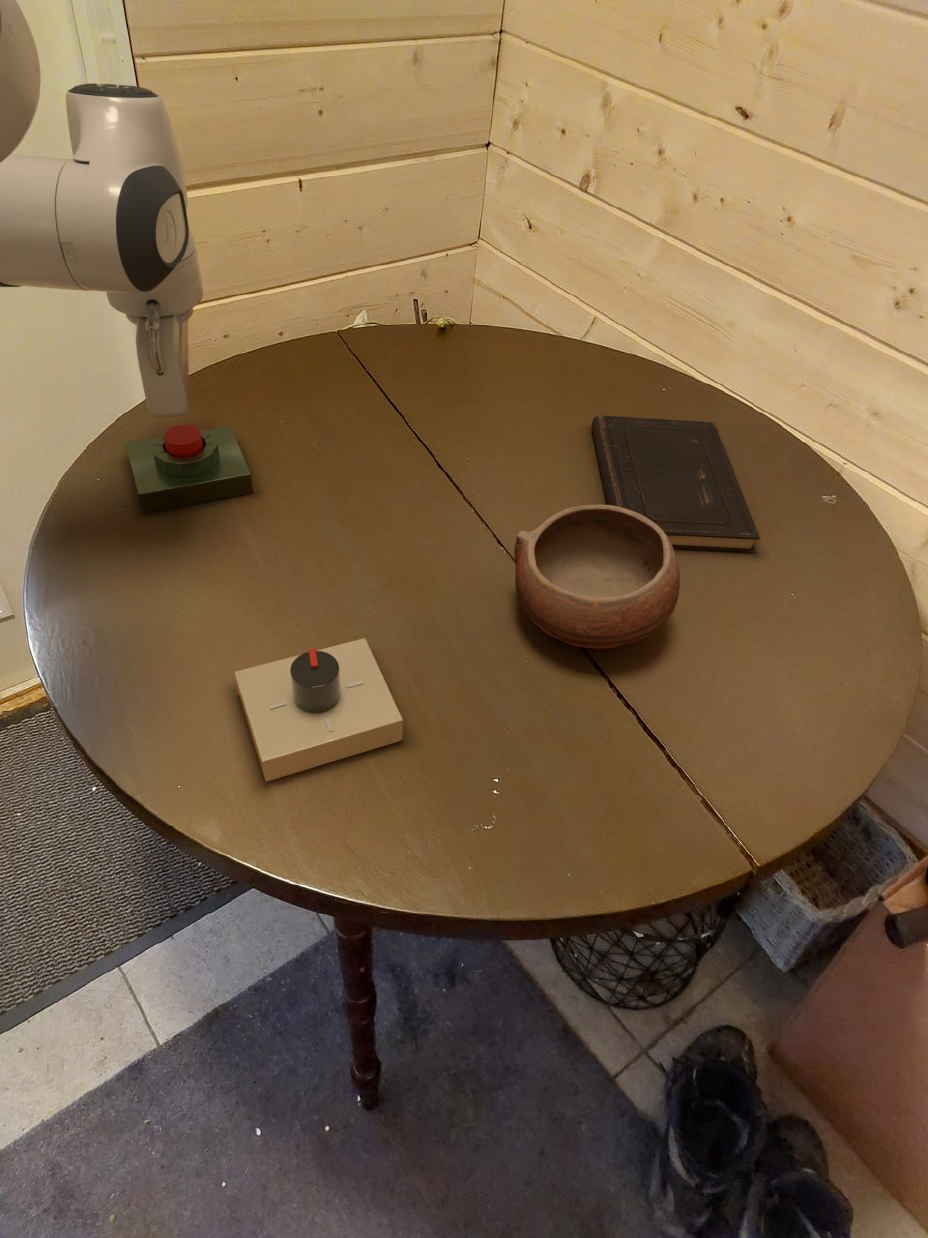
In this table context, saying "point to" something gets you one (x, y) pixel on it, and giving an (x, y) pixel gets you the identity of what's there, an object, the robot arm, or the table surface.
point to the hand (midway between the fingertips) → (179, 406)
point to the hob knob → (315, 681)
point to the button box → (189, 471)
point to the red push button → (183, 440)
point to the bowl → (597, 576)
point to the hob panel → (324, 737)
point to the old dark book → (675, 480)
